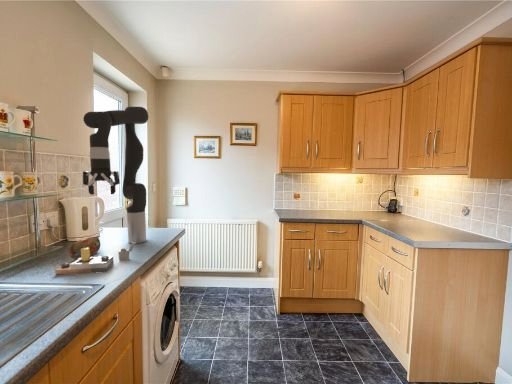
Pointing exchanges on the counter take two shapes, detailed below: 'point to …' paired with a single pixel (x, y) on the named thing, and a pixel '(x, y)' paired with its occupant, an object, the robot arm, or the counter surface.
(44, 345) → the counter surface
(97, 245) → the tin
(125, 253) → the lighter
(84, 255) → the pin
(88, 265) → the door latch
